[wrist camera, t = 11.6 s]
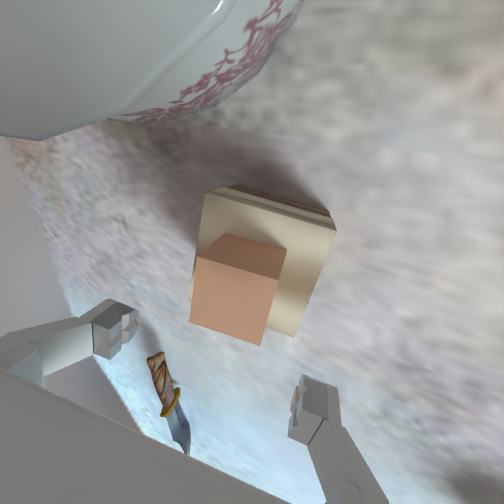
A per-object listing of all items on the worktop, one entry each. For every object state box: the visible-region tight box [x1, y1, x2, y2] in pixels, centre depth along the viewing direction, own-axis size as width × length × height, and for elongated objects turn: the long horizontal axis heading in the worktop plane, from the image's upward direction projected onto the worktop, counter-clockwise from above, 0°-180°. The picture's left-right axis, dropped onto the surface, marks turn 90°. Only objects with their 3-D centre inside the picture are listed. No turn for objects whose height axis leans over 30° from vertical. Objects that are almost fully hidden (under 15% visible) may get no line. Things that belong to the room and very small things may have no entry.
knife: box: [147, 352, 191, 456], centre depth 37 cm, size 25×1×5 cm, turn 5°
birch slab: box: [188, 187, 337, 337], centre depth 21 cm, size 10×10×4 cm
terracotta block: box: [189, 233, 287, 346], centre depth 17 cm, size 5×5×5 cm
